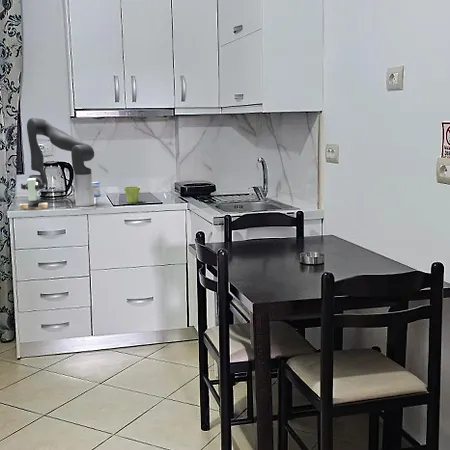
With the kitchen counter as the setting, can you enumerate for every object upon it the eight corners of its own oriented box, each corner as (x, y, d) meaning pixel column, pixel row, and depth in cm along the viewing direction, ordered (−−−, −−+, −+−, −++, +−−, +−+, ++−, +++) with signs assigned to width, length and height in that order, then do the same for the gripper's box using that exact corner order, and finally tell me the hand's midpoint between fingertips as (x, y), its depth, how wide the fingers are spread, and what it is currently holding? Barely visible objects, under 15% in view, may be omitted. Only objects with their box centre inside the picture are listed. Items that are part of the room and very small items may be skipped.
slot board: (47, 206, 365) (47, 202, 364) (46, 208, 358) (46, 204, 358) (21, 207, 362) (20, 203, 362) (19, 209, 356) (19, 205, 355)
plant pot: (131, 204, 371) (131, 188, 370) (120, 202, 377) (120, 187, 376) (144, 202, 378) (144, 187, 377) (133, 200, 384) (133, 185, 383)
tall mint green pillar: (37, 198, 364) (35, 178, 362) (35, 200, 356) (34, 179, 354) (30, 198, 363) (29, 178, 361) (28, 200, 355) (27, 180, 353)
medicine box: (91, 197, 402) (90, 183, 401) (86, 197, 405) (85, 182, 403) (100, 196, 408) (100, 182, 407) (95, 195, 411) (95, 181, 409)
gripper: (21, 177, 370) (17, 181, 354) (47, 177, 373) (45, 180, 356) (22, 191, 372) (18, 195, 355) (48, 190, 374) (45, 194, 357)
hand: (31, 188), depth 356 cm, fingers closed on tall mint green pillar, 3 cm apart
